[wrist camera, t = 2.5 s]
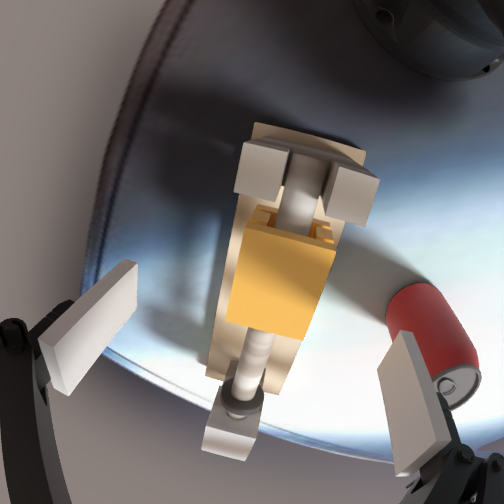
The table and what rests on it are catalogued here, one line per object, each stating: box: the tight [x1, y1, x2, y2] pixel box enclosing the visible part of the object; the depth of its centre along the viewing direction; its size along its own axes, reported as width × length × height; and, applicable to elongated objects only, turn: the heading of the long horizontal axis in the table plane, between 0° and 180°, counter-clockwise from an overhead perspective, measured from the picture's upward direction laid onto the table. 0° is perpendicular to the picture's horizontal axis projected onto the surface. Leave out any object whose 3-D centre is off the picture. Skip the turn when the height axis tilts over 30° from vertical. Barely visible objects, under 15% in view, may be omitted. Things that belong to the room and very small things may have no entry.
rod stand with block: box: [201, 122, 380, 461], centre depth 24 cm, size 28×9×12 cm, turn 168°
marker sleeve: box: [225, 204, 337, 341], centre depth 19 cm, size 6×5×5 cm
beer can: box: [386, 283, 481, 411], centre depth 23 cm, size 7×7×12 cm
